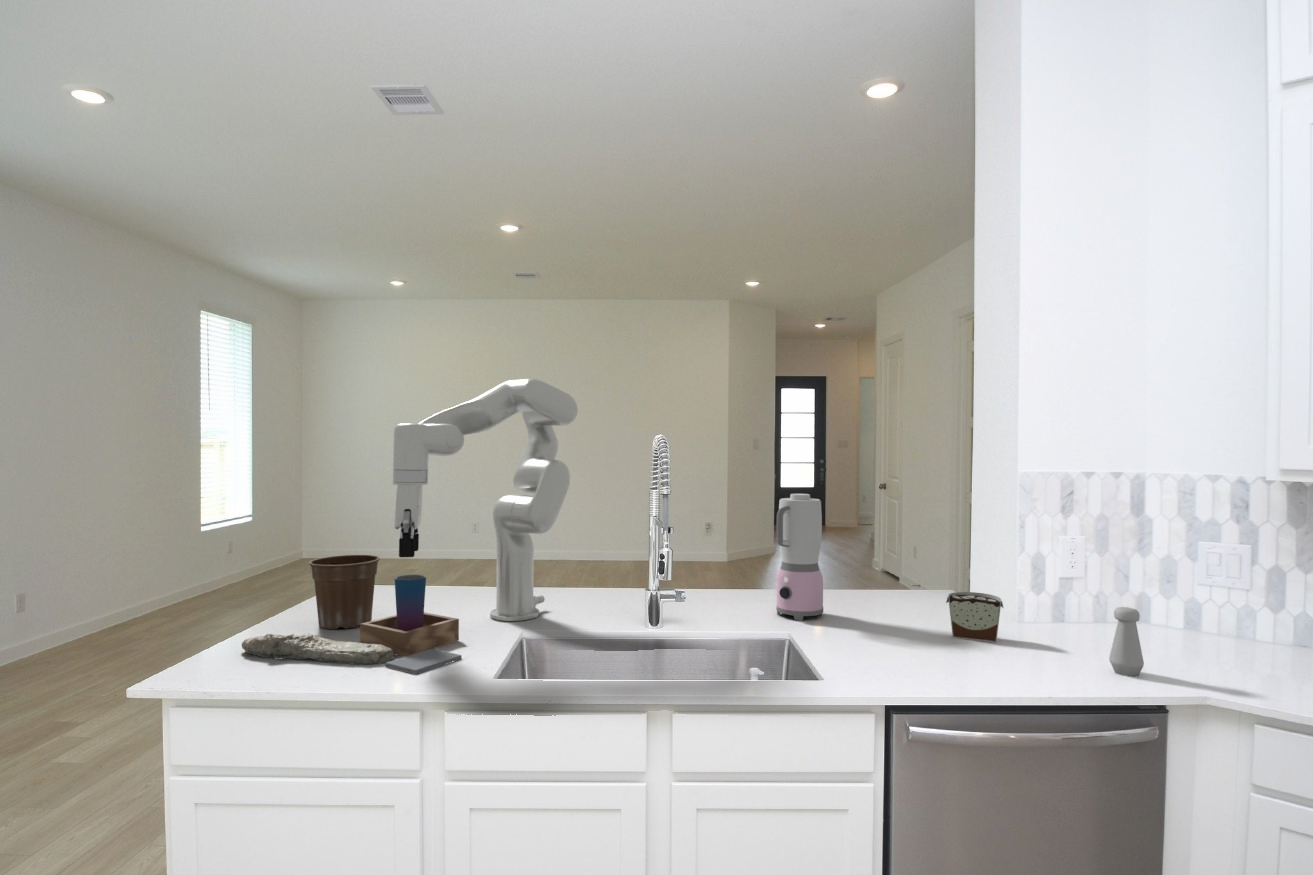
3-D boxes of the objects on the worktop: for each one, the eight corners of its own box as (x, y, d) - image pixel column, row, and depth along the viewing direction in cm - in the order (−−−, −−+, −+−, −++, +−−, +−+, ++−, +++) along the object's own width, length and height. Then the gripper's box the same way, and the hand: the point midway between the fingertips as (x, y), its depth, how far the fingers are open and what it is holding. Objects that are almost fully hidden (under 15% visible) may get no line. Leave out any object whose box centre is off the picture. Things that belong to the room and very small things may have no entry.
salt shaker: (1102, 668, 149) (1102, 604, 149) (1129, 668, 149) (1129, 604, 149) (1123, 678, 143) (1123, 611, 143) (1150, 677, 144) (1151, 611, 144)
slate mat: (432, 652, 158) (432, 648, 158) (461, 658, 154) (461, 655, 154) (385, 666, 148) (385, 662, 148) (415, 674, 143) (415, 670, 143)
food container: (1003, 636, 173) (1003, 594, 173) (1003, 643, 168) (1003, 599, 168) (947, 630, 178) (947, 589, 178) (945, 636, 173) (946, 594, 173)
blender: (795, 607, 202) (796, 491, 202) (833, 615, 193) (833, 494, 193) (758, 616, 192) (759, 494, 192) (796, 625, 183) (797, 497, 183)
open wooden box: (414, 631, 175) (414, 610, 175) (458, 640, 167) (458, 618, 167) (360, 646, 163) (360, 623, 163) (405, 657, 155) (405, 633, 155)
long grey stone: (375, 676, 147) (402, 664, 156) (378, 650, 147) (404, 639, 157) (226, 655, 154) (261, 645, 164) (229, 630, 154) (263, 621, 164)
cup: (415, 648, 161) (416, 580, 161) (387, 646, 162) (388, 579, 162) (431, 640, 168) (431, 574, 168) (404, 638, 169) (404, 573, 169)
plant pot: (293, 628, 178) (293, 561, 178) (344, 613, 193) (344, 552, 193) (344, 635, 172) (345, 566, 172) (393, 619, 187) (393, 556, 187)
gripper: (397, 476, 173) (396, 549, 172) (388, 479, 156) (386, 560, 155) (430, 476, 174) (429, 548, 174) (424, 479, 157) (423, 559, 157)
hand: (408, 553), depth 165 cm, fingers open, 9 cm apart
